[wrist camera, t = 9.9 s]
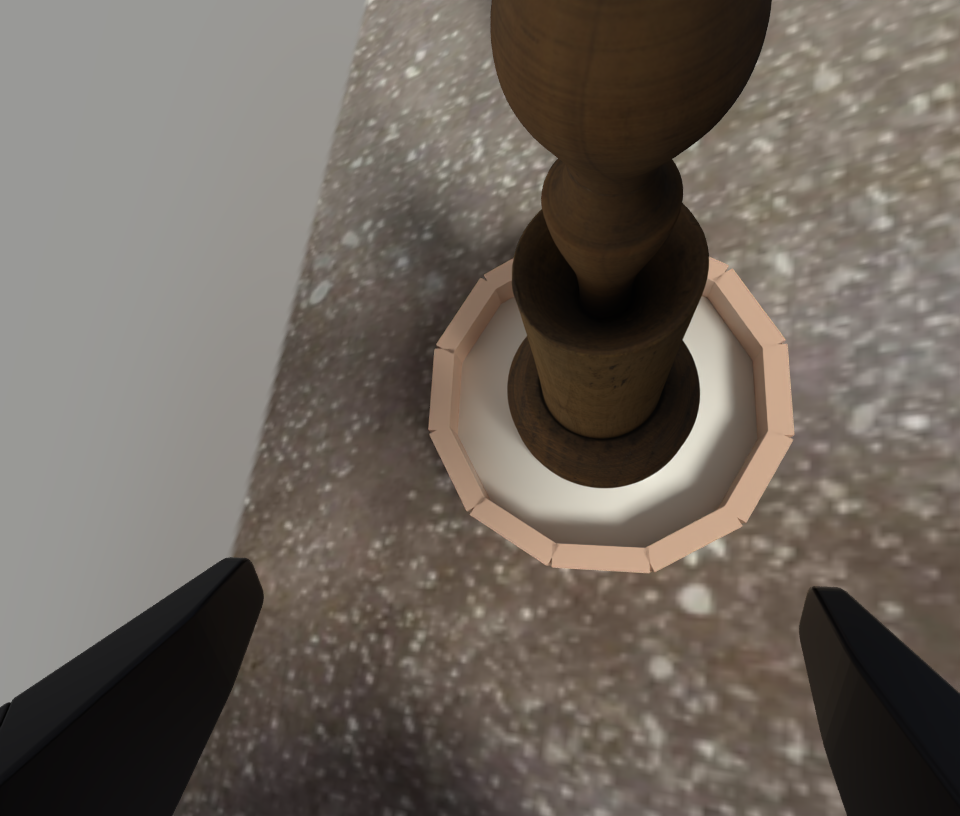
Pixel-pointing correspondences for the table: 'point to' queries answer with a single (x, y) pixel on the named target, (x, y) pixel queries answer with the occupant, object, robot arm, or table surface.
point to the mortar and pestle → (614, 219)
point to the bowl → (633, 508)
